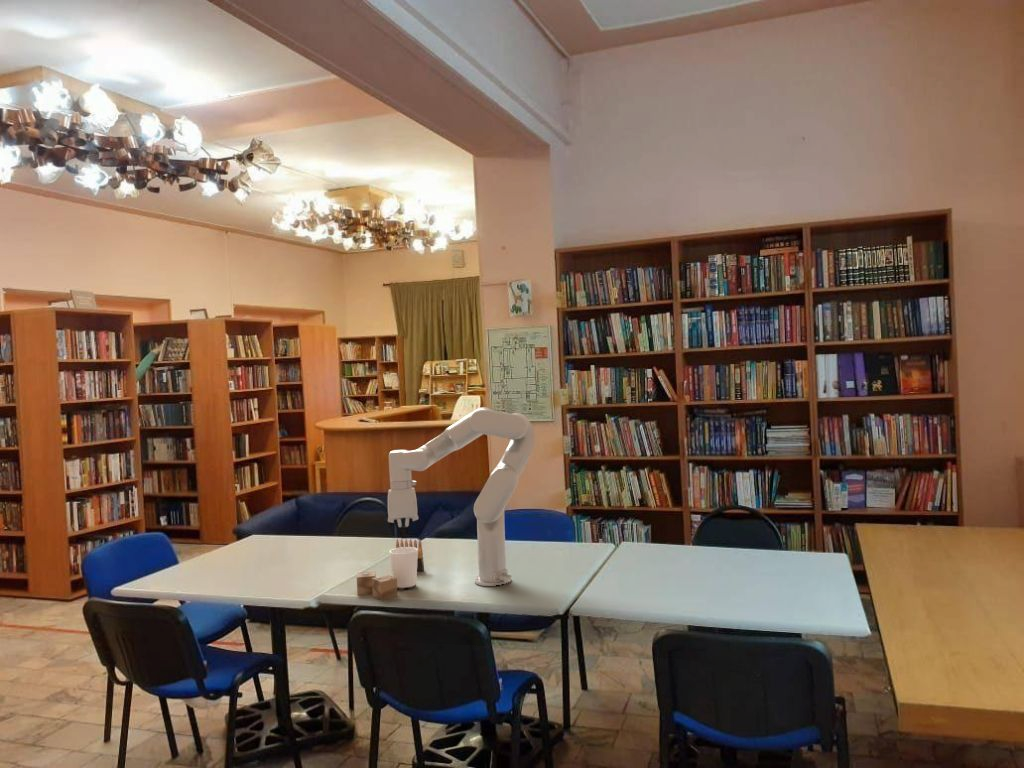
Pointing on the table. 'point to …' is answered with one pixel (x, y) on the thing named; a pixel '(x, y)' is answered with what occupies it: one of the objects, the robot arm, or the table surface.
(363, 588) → the walnut block one dot
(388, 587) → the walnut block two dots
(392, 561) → the cup
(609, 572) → the table surface
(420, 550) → the ammunition clip
